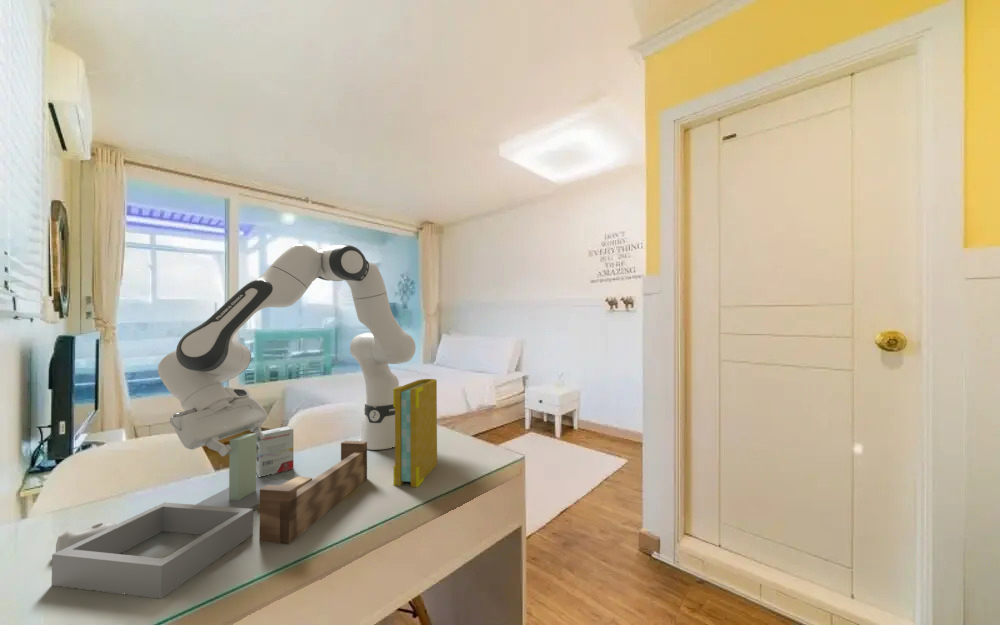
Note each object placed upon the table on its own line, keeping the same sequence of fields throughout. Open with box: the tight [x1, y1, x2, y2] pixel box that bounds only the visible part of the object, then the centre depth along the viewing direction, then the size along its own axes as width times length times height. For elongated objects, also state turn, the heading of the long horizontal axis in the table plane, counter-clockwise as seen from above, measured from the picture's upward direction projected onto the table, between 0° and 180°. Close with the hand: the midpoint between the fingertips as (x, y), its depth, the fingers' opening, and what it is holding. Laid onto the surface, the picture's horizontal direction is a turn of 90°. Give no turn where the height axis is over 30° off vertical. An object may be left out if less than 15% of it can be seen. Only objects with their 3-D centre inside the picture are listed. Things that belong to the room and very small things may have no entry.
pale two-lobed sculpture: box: [55, 522, 118, 553], centre depth 69 cm, size 4×8×5 cm
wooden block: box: [257, 475, 313, 513], centre depth 86 cm, size 12×5×4 cm, turn 164°
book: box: [393, 378, 438, 488], centre depth 101 cm, size 17×7×25 cm, turn 168°
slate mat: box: [194, 477, 291, 511], centre depth 86 cm, size 18×14×1 cm
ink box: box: [256, 425, 294, 478], centre depth 103 cm, size 9×5×12 cm, turn 134°
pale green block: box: [228, 432, 257, 500], centre depth 87 cm, size 5×2×14 cm, turn 172°
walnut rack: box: [258, 440, 368, 545], centre depth 83 cm, size 29×6×10 cm, turn 172°
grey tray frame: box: [51, 502, 254, 600], centre depth 65 cm, size 17×21×5 cm
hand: (245, 446), depth 87 cm, fingers open, 8 cm apart
